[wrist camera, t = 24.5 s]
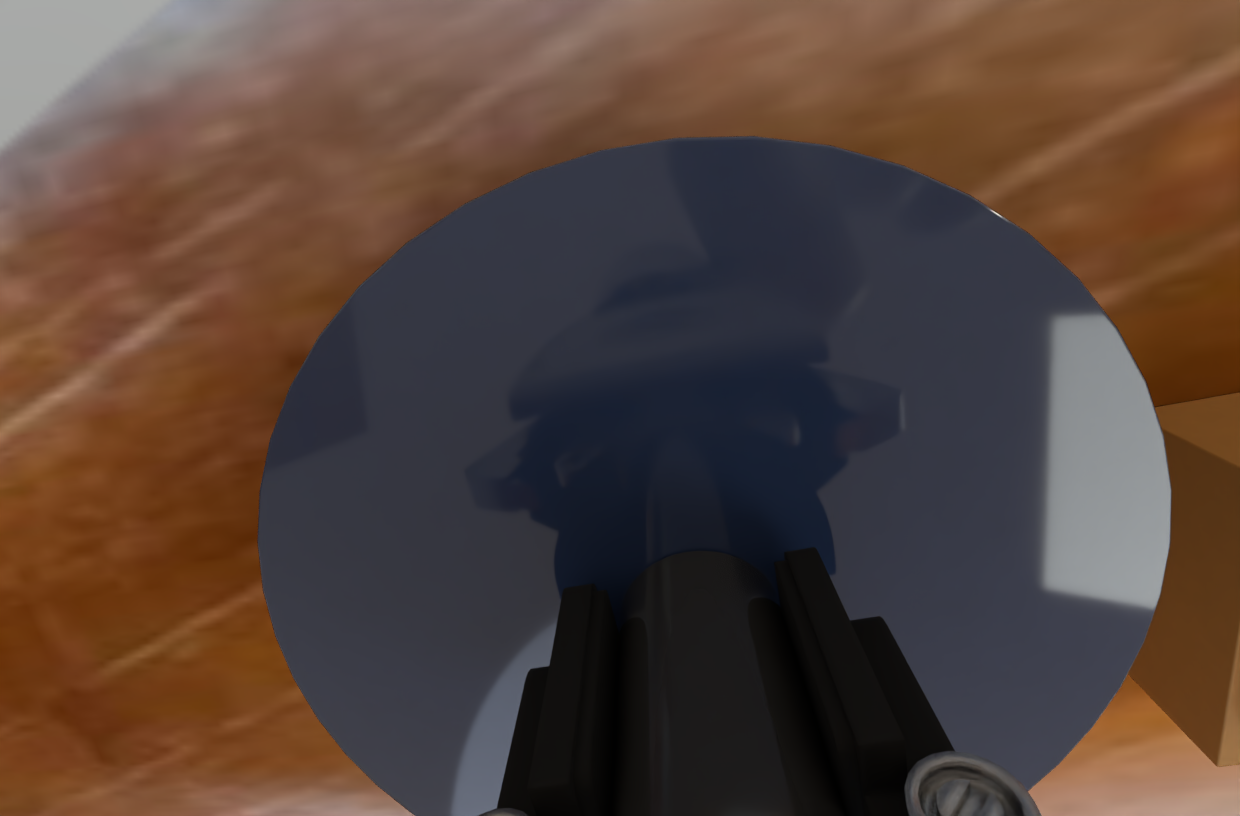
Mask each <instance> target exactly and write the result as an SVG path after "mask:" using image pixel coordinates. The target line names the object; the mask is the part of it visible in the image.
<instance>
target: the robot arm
mask: <svg viewBox="0 0 1240 816" xmlns="http://www.w3.org/2000/svg"><path fill="white" fill-rule="evenodd" d="M784 558H785V560H784V561H778V562H774V566H775V573H776V580H777V586H778V593H779V599H780V605H781V610H782V613H783V616H784V619H785V622H786V626H787V629H788V632H789V635H790V638H791V641H792V644H793V648H794V651H795V654H796V657H797V660H798V663H799V667H800V670H801V673H802V676H803V679H804V682H805V685H806V689H807V692H808V695H809V698H810V701H811V704H812V707H813V711H814V714H815V717H816V720H817V723H818V726H819V730H820V733H821V736H822V739H823V742H824V745H825V748H826V752H827V755H828V758H829V761H830V764H831V767H832V770H833V774H834V777H835V780H836V783H837V786H838V789H839V793H840V796H841V799H842V802H843V805H844V808H845V811H846V815H847V816H1041V814H1040V812H1039V810H1038V808H1037V806H1036V804H1035V802H1034V800H1033V799H1032V797H1031V796H1030V794H1029V793H1028V791H1027V790H1026V789H1025V787H1024V786H1023V784H1022V783H1021V782H1019V781H1018V780H1017V779H1016V778H1015V777H1014V776H1013V775H1012V774H1010V773H1009V772H1008V771H1007V770H1006V769H1004V768H1002V767H1001V766H999V765H997V764H995V763H994V762H992V761H990V760H988V759H986V758H983V757H980V756H977V755H973V754H970V753H966V752H955V750H954V748H953V746H952V744H951V742H950V741H949V739H948V737H947V735H946V733H945V731H944V729H943V728H942V726H941V724H940V722H939V720H938V718H937V716H936V715H935V713H934V711H933V709H932V707H931V705H930V703H929V702H928V700H927V698H926V696H925V694H924V692H923V690H922V689H921V687H920V685H919V683H918V681H917V679H916V677H915V676H914V674H913V672H912V670H911V668H910V666H909V664H908V663H907V661H906V659H905V657H904V655H903V653H902V651H901V650H900V648H899V646H898V644H897V642H896V640H895V638H894V637H893V635H892V633H891V631H890V629H889V627H888V625H887V624H886V622H885V621H884V619H883V618H882V617H880V616H877V617H870V618H864V619H857V620H850V619H849V617H848V615H847V613H846V611H845V609H844V606H843V604H842V602H841V600H840V598H839V596H838V593H837V591H836V589H835V587H834V585H833V583H832V580H831V578H830V576H829V574H828V572H827V570H826V567H825V565H824V563H823V561H822V559H821V557H820V554H819V552H818V550H817V549H816V548H815V547H812V548H806V549H800V550H793V551H787V552H785V553H784ZM618 645H619V632H618V629H617V625H616V621H615V618H614V614H613V610H612V606H611V603H610V599H609V596H608V592H607V590H600V591H597V589H596V586H595V584H593V583H592V584H586V585H580V586H574V587H568V588H565V589H564V590H563V593H562V599H561V604H560V610H559V615H558V621H557V626H556V632H555V637H554V643H553V648H552V654H551V659H550V665H549V666H546V667H539V668H532V669H530V670H529V672H528V673H527V676H526V679H525V684H524V688H523V693H522V697H521V702H520V706H519V711H518V715H517V719H516V724H515V728H514V733H513V737H512V742H511V746H510V751H509V755H508V760H507V764H506V769H505V773H504V778H503V782H502V787H501V791H500V796H499V800H498V804H497V809H493V810H490V811H488V812H485V813H482V814H480V815H478V816H610V814H611V793H612V772H613V751H614V729H615V708H616V687H617V666H618Z"/></svg>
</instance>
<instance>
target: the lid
mask: <svg viewBox="0 0 1240 816" xmlns="http://www.w3.org/2000/svg"><path fill="white" fill-rule="evenodd" d="M1171 511H1172V487H1171V480H1170V473H1169V466H1168V459H1167V453H1166V446H1165V439H1164V434H1163V431H1162V428H1161V425H1160V422H1159V419H1158V416H1157V413H1156V410H1155V407H1154V404H1153V401H1152V398H1151V395H1150V392H1149V389H1148V386H1147V383H1146V380H1145V378H1144V376H1143V375H1142V373H1141V371H1140V369H1139V367H1138V365H1137V363H1136V362H1135V360H1134V358H1133V356H1132V354H1131V352H1130V350H1129V349H1128V347H1127V345H1126V343H1125V341H1124V339H1123V337H1122V336H1121V334H1120V332H1119V330H1118V328H1117V327H1116V325H1115V324H1114V323H1113V322H1112V320H1111V319H1110V318H1109V317H1108V315H1107V314H1106V313H1105V311H1104V310H1103V309H1102V308H1101V306H1100V305H1099V304H1098V303H1097V301H1096V300H1095V299H1094V297H1093V296H1092V295H1091V294H1090V292H1089V291H1088V290H1087V289H1086V287H1085V286H1084V285H1083V283H1082V282H1081V281H1080V280H1079V278H1078V277H1077V276H1076V275H1075V274H1073V273H1072V272H1071V271H1070V270H1069V269H1068V268H1067V267H1066V266H1065V265H1063V264H1062V263H1061V262H1060V261H1059V260H1058V259H1057V258H1056V257H1055V256H1054V255H1052V254H1051V253H1050V252H1049V251H1048V250H1047V249H1046V248H1045V247H1044V246H1043V245H1041V244H1040V243H1039V242H1038V241H1037V240H1036V239H1035V238H1034V237H1033V236H1032V235H1030V234H1029V233H1028V232H1027V231H1025V230H1023V229H1022V228H1020V227H1019V226H1017V225H1016V224H1014V223H1013V222H1011V221H1010V220H1008V219H1006V218H1005V217H1003V216H1002V215H1000V214H999V213H997V212H996V211H994V210H992V209H991V208H989V207H988V206H986V205H985V204H983V203H982V202H980V201H979V200H977V199H975V198H974V197H972V196H971V195H969V194H967V193H965V192H962V191H960V190H958V189H956V188H953V187H951V186H949V185H947V184H944V183H942V182H940V181H938V180H935V179H933V178H931V177H929V176H926V175H924V174H922V173H919V172H917V171H915V170H913V169H910V168H908V167H906V166H904V165H900V164H897V163H893V162H889V161H886V160H882V159H878V158H875V157H871V156H868V155H864V154H860V153H857V152H853V151H849V150H846V149H842V148H838V147H835V146H831V145H823V144H815V143H807V142H799V141H791V140H782V139H774V138H766V137H758V136H734V137H687V138H672V139H666V140H660V141H654V142H648V143H642V144H636V145H629V146H623V147H617V148H611V149H605V150H600V151H597V152H594V153H590V154H587V155H584V156H581V157H578V158H575V159H571V160H568V161H565V162H562V163H559V164H555V165H552V166H549V167H546V168H543V169H539V170H536V171H533V172H530V173H528V174H526V175H524V176H521V177H519V178H517V179H515V180H513V181H511V182H509V183H507V184H505V185H503V186H501V187H498V188H496V189H494V190H492V191H490V192H488V193H486V194H484V195H482V196H480V197H478V198H475V199H473V200H471V201H469V202H467V203H465V204H463V205H462V206H460V207H459V208H457V209H456V210H454V211H453V212H451V213H450V214H448V215H447V216H445V217H444V218H442V219H441V220H440V221H438V222H437V223H435V224H434V225H432V226H431V227H429V228H428V229H426V230H425V231H423V232H422V233H420V234H419V235H417V236H416V237H414V238H413V239H411V240H410V241H408V242H407V243H406V244H405V245H403V246H402V247H401V248H400V249H399V250H398V251H397V252H396V253H395V254H394V255H393V256H391V257H390V258H389V259H388V260H387V261H386V262H385V263H384V264H383V265H382V266H381V267H379V268H378V269H377V270H376V271H375V272H374V273H373V274H372V275H371V276H370V277H369V278H367V279H366V280H365V281H364V282H363V283H362V284H361V285H360V286H359V287H358V288H357V289H356V290H355V292H354V293H353V294H352V295H351V297H350V298H349V299H348V300H347V301H346V303H345V304H344V305H343V306H342V308H341V309H340V310H339V311H338V313H337V314H336V315H335V316H334V318H333V319H332V320H331V321H330V323H329V324H328V325H327V326H326V328H325V329H324V330H323V331H322V333H321V334H320V335H319V337H318V338H317V340H316V342H315V344H314V345H313V347H312V349H311V351H310V352H309V354H308V356H307V358H306V359H305V361H304V363H303V365H302V366H301V368H300V370H299V372H298V373H297V375H296V377H295V379H294V380H293V382H292V384H291V386H290V388H289V391H288V393H287V396H286V398H285V401H284V404H283V406H282V409H281V412H280V414H279V417H278V420H277V422H276V425H275V428H274V430H273V433H272V436H271V438H270V443H269V448H268V453H267V457H266V462H265V467H264V472H263V477H262V482H261V487H260V494H259V518H258V551H259V559H260V568H261V577H262V586H263V592H264V596H265V600H266V603H267V607H268V611H269V614H270V618H271V622H272V626H273V629H274V633H275V637H276V639H277V641H278V644H279V646H280V648H281V651H282V653H283V655H284V657H285V660H286V662H287V664H288V667H289V669H290V671H291V674H292V676H293V678H294V680H295V682H296V684H297V685H298V687H299V689H300V690H301V692H302V694H303V695H304V697H305V699H306V700H307V702H308V704H309V705H310V707H311V709H312V710H313V712H314V714H315V715H316V717H317V718H318V720H319V721H320V722H321V724H322V725H323V726H324V727H325V729H326V730H327V731H328V732H329V734H330V735H331V736H332V738H333V739H334V740H335V741H336V743H337V744H338V745H339V746H340V748H341V749H342V750H343V752H344V753H345V754H346V755H347V756H348V757H349V758H350V759H351V760H352V761H353V762H354V763H355V764H356V765H357V766H358V767H359V768H360V769H361V770H362V771H363V772H364V773H365V774H366V775H367V776H368V777H369V778H370V779H371V780H372V781H373V782H374V783H375V784H376V785H377V786H378V787H379V788H381V789H382V790H383V791H384V792H386V793H387V794H388V795H389V796H391V797H392V798H393V799H394V800H396V801H397V802H398V803H399V804H401V805H402V806H403V807H405V808H406V809H407V810H408V811H410V812H411V813H412V814H413V815H415V816H478V815H480V814H482V813H485V812H488V811H490V810H493V809H497V804H498V800H499V796H500V791H501V787H502V782H503V778H504V773H505V769H506V764H507V760H508V755H509V751H510V746H511V742H512V737H513V733H514V728H515V724H516V719H517V715H518V711H519V706H520V702H521V697H522V693H523V688H524V684H525V679H526V676H527V673H528V672H529V670H530V669H532V668H539V667H546V666H549V665H550V659H551V654H552V648H553V643H554V637H555V632H556V626H557V621H558V615H559V610H560V604H561V599H562V593H563V590H564V589H565V588H568V587H574V586H580V585H586V584H592V583H593V584H595V586H596V589H597V591H600V590H607V592H608V596H609V599H610V603H611V606H612V610H613V614H614V618H615V621H616V625H617V629H618V632H619V645H618V666H617V687H616V708H615V729H614V751H613V772H612V793H611V814H610V816H847V815H846V811H845V808H844V805H843V802H842V799H841V796H840V793H839V789H838V786H837V783H836V780H835V777H834V774H833V770H832V767H831V764H830V761H829V758H828V755H827V752H826V748H825V745H824V742H823V739H822V736H821V733H820V730H819V726H818V723H817V720H816V717H815V714H814V711H813V707H812V704H811V701H810V698H809V695H808V692H807V689H806V685H805V682H804V679H803V676H802V673H801V670H800V667H799V663H798V660H797V657H796V654H795V651H794V648H793V644H792V641H791V638H790V635H789V632H788V629H787V626H786V622H785V619H784V616H783V613H782V610H781V605H780V599H779V593H778V586H777V580H776V573H775V566H774V562H778V561H784V560H785V558H784V553H785V552H787V551H793V550H800V549H806V548H812V547H815V548H816V549H817V550H818V552H819V554H820V557H821V559H822V561H823V563H824V565H825V567H826V570H827V572H828V574H829V576H830V578H831V580H832V583H833V585H834V587H835V589H836V591H837V593H838V596H839V598H840V600H841V602H842V604H843V606H844V609H845V611H846V613H847V615H848V617H849V619H850V620H857V619H864V618H870V617H877V616H880V617H882V618H883V619H884V621H885V622H886V624H887V625H888V627H889V629H890V631H891V633H892V635H893V637H894V638H895V640H896V642H897V644H898V646H899V648H900V650H901V651H902V653H903V655H904V657H905V659H906V661H907V663H908V664H909V666H910V668H911V670H912V672H913V674H914V676H915V677H916V679H917V681H918V683H919V685H920V687H921V689H922V690H923V692H924V694H925V696H926V698H927V700H928V702H929V703H930V705H931V707H932V709H933V711H934V713H935V715H936V716H937V718H938V720H939V722H940V724H941V726H942V728H943V729H944V731H945V733H946V735H947V737H948V739H949V741H950V742H951V744H952V746H953V748H954V750H955V752H966V753H970V754H973V755H977V756H980V757H983V758H986V759H988V760H990V761H992V762H994V763H995V764H997V765H999V766H1001V767H1002V768H1004V769H1006V770H1007V771H1008V772H1009V773H1010V774H1012V775H1013V776H1014V777H1015V778H1016V779H1017V780H1018V781H1019V782H1021V783H1022V784H1023V786H1024V787H1025V789H1026V790H1027V791H1029V790H1030V789H1031V788H1032V787H1033V786H1034V785H1036V784H1037V783H1038V782H1039V781H1040V780H1041V779H1042V778H1044V777H1045V776H1046V775H1047V774H1048V773H1049V772H1050V771H1052V770H1053V769H1054V768H1055V767H1056V766H1057V765H1059V764H1060V762H1061V761H1062V760H1063V759H1064V758H1065V757H1066V756H1067V755H1068V754H1069V753H1070V751H1071V750H1072V749H1073V748H1074V747H1075V746H1076V745H1077V744H1078V743H1079V742H1080V740H1081V739H1082V738H1083V737H1084V736H1085V735H1086V734H1087V733H1088V732H1089V731H1090V729H1091V728H1092V727H1093V726H1094V724H1095V723H1096V721H1097V720H1098V719H1099V717H1100V716H1101V714H1102V713H1103V712H1104V710H1105V709H1106V707H1107V706H1108V704H1109V703H1110V702H1111V700H1112V699H1113V697H1114V696H1115V695H1116V693H1117V692H1118V690H1119V689H1120V687H1121V686H1122V684H1123V682H1124V680H1125V678H1126V676H1127V674H1128V672H1129V670H1130V669H1131V667H1132V665H1133V663H1134V661H1135V659H1136V657H1137V655H1138V653H1139V651H1140V649H1141V648H1142V646H1143V644H1144V641H1145V639H1146V636H1147V633H1148V630H1149V627H1150V624H1151V622H1152V619H1153V616H1154V613H1155V610H1156V607H1157V605H1158V602H1159V599H1160V596H1161V592H1162V587H1163V582H1164V576H1165V571H1166V566H1167V560H1168V555H1169V550H1170V545H1171Z"/></svg>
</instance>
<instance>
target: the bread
mask: <svg viewBox="0 0 1240 816" xmlns="http://www.w3.org/2000/svg"><path fill="white" fill-rule="evenodd" d="M1155 410H1156V413H1157V416H1158V419H1159V422H1160V425H1161V428H1162V431H1163V434H1164V439H1165V446H1166V453H1167V459H1168V466H1169V473H1170V480H1171V487H1172V511H1171V545H1170V550H1169V555H1168V560H1167V566H1166V571H1165V576H1164V582H1163V587H1162V592H1161V596H1160V599H1159V602H1158V605H1157V607H1156V610H1155V613H1154V616H1153V619H1152V622H1151V624H1150V627H1149V630H1148V633H1147V636H1146V639H1145V641H1144V644H1143V646H1142V648H1141V649H1140V651H1139V653H1138V655H1137V657H1136V659H1135V661H1134V663H1133V665H1132V667H1131V669H1130V670H1129V672H1128V675H1129V676H1130V677H1131V678H1132V679H1133V680H1134V681H1135V682H1136V683H1137V684H1138V685H1139V686H1140V687H1141V688H1142V689H1143V690H1144V691H1145V692H1146V693H1147V694H1148V695H1149V696H1150V697H1151V699H1152V700H1153V701H1154V702H1155V703H1156V704H1157V705H1158V706H1159V707H1160V708H1161V709H1162V710H1163V711H1164V712H1165V713H1166V714H1167V715H1168V716H1169V717H1170V718H1171V719H1172V720H1173V721H1174V722H1175V723H1176V725H1177V726H1178V727H1179V728H1180V729H1181V730H1182V731H1183V732H1184V733H1185V734H1186V735H1187V736H1188V737H1189V738H1190V739H1191V740H1192V741H1193V742H1194V743H1195V744H1196V745H1197V746H1198V747H1199V748H1200V750H1201V751H1202V752H1203V753H1204V754H1205V755H1206V756H1207V757H1208V758H1209V759H1210V760H1211V761H1212V762H1213V763H1214V764H1215V765H1216V766H1217V767H1222V766H1231V765H1239V764H1240V392H1239V393H1233V394H1228V395H1222V396H1216V397H1211V398H1205V399H1199V400H1194V401H1188V402H1182V403H1177V404H1171V405H1165V406H1160V407H1155Z"/></svg>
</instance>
